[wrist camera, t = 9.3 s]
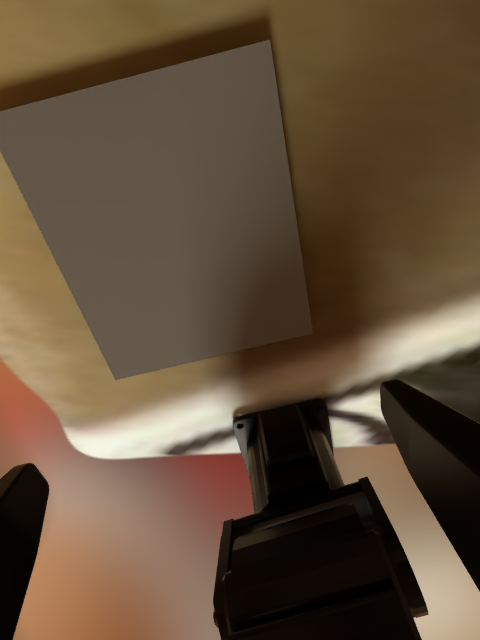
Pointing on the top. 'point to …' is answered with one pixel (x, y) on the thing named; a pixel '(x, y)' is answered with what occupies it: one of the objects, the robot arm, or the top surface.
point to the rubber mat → (168, 208)
